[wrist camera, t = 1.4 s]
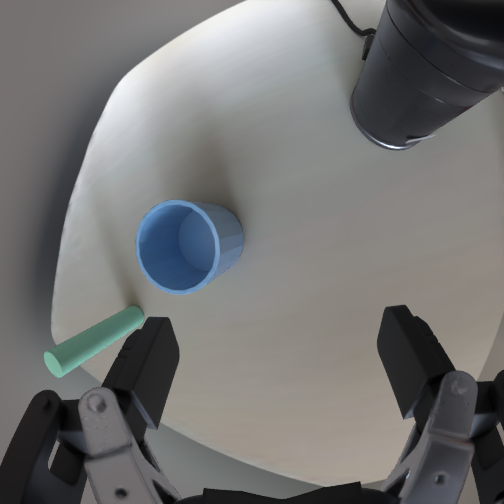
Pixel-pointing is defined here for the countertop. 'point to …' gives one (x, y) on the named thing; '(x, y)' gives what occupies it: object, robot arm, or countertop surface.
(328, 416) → the countertop surface
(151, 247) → the cup
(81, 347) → the mint green tapered cylinder
